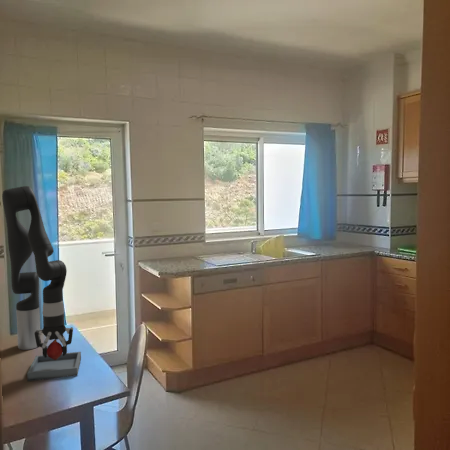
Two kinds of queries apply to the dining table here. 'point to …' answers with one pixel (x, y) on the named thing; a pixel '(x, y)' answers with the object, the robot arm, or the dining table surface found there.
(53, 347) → the onion
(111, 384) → the dining table surface
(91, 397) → the dining table surface
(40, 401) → the dining table surface
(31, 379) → the tray
